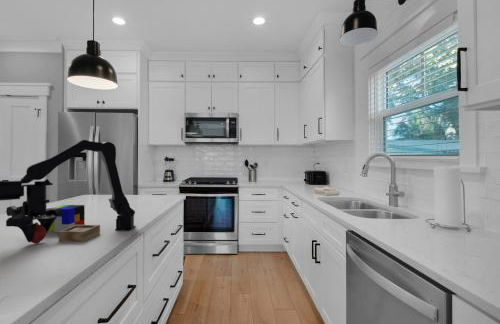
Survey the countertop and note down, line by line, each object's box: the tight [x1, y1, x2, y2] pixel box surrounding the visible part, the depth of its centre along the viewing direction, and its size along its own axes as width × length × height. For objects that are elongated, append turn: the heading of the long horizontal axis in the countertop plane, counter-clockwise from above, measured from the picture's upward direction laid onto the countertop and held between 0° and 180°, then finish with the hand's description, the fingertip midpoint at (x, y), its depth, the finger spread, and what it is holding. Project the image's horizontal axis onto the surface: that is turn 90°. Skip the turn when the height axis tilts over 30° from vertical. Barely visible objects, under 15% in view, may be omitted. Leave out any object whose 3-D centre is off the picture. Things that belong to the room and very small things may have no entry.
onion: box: [31, 221, 48, 245], centre depth 96 cm, size 6×6×8 cm
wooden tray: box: [58, 224, 101, 242], centre depth 104 cm, size 10×10×4 cm
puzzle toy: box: [47, 204, 86, 233], centre depth 117 cm, size 10×10×10 cm
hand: (36, 239), depth 96 cm, fingers closed on onion, 6 cm apart
